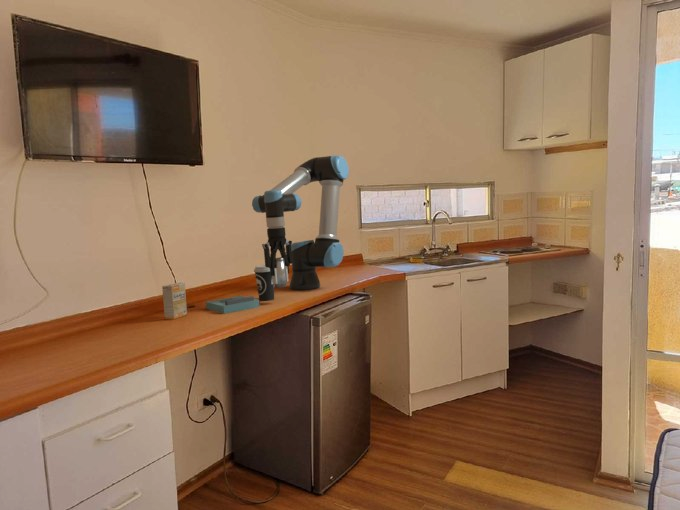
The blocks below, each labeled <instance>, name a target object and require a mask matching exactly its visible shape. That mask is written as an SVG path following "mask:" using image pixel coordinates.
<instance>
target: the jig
mask: <svg viewBox="0 0 680 510" xmlns="http://www.w3.org/2000/svg"><path fill="white" fill-rule="evenodd" d="M205 308H206V310H209V311H213V312H217V313H219V314H231V313H236V312H242V311H245V310H251V309H252V310H253V309H256V308H260V300H259V299H257V298H255V296H253V295H251V296H243V295H238V296H232V297H225V298H220V299H213V300H208V301H205Z"/></svg>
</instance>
